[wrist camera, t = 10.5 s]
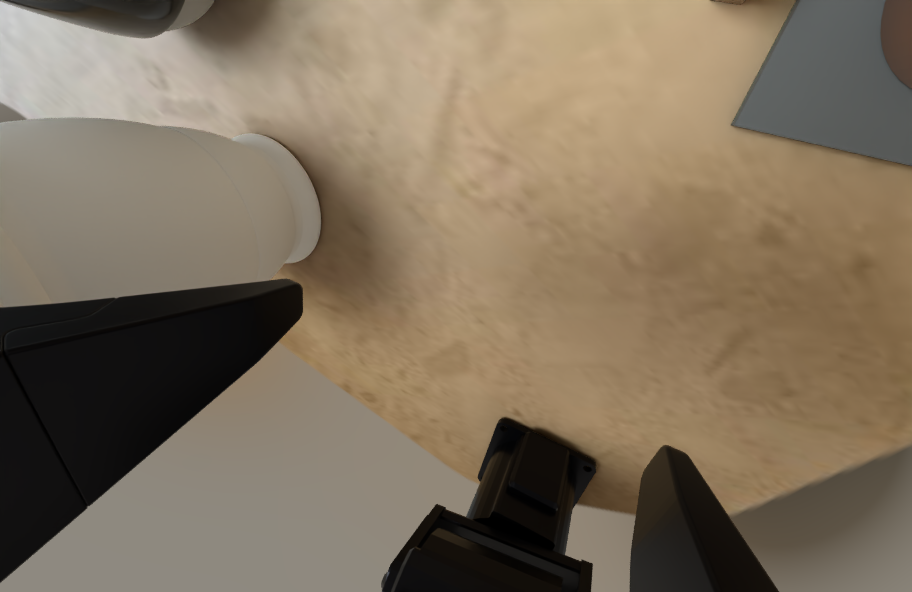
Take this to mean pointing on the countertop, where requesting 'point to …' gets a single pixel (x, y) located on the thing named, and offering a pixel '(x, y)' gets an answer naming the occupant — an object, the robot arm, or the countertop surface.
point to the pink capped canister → (898, 38)
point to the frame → (731, 1)
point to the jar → (144, 209)
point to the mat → (832, 83)
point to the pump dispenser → (121, 14)
